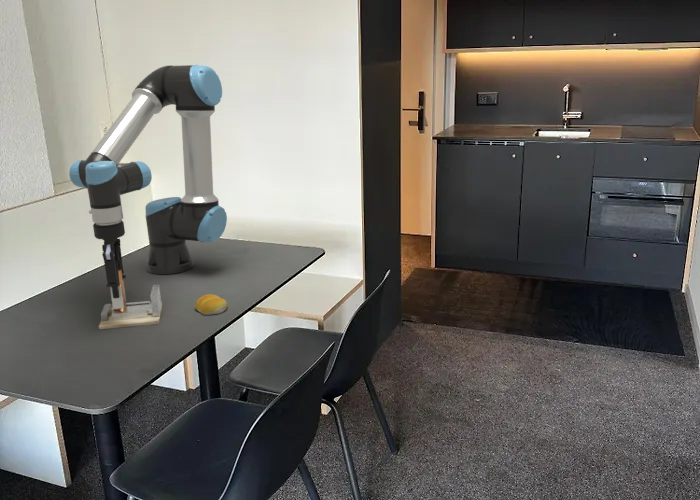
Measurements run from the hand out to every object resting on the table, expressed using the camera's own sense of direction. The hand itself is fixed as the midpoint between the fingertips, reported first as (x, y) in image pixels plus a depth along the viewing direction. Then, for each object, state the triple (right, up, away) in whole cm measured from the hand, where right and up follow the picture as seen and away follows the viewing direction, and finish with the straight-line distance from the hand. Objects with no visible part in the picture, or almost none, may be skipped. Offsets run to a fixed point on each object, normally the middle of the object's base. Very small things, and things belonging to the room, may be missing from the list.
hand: (119, 305), depth 174 cm
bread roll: (+24, -2, +6) cm, 24 cm away
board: (+3, -3, +2) cm, 5 cm away
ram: (+4, -2, +2) cm, 5 cm away
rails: (+2, -3, +1) cm, 3 cm away
